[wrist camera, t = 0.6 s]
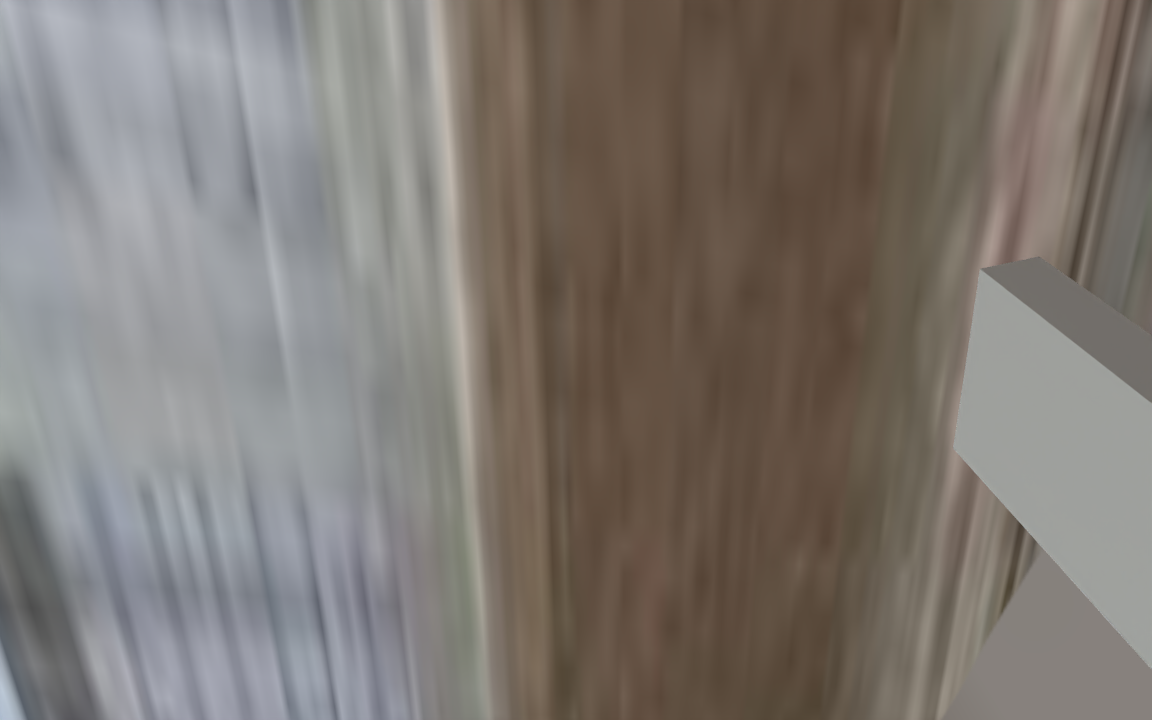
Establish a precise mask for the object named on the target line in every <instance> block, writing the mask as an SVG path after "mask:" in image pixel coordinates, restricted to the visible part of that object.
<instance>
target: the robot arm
mask: <svg viewBox="0 0 1152 720" xmlns="http://www.w3.org/2000/svg"><path fill="white" fill-rule="evenodd" d="M953 449H954V450H955V451H956V452H957V453H958V454H959V455H960V456H961V457H962V459H963V460H964V461H965V462H966V463H967V464H968V465H969V466H970V468H971V469H972V470H973V471H974V472H975V473H976V474H977V475H978V476H979V478H980V479H981V480H982V481H983V482H984V483H985V484H986V485H987V486H988V488H989V489H990V490H991V491H992V492H993V493H994V494H995V495H996V496H997V498H998V499H999V500H1000V501H1001V502H1002V503H1003V504H1004V505H1005V507H1006V508H1007V509H1008V510H1009V511H1010V512H1011V513H1012V514H1013V515H1014V517H1015V518H1016V519H1017V520H1018V521H1019V522H1020V523H1021V524H1022V525H1023V527H1024V528H1025V529H1026V530H1027V531H1028V532H1029V533H1030V534H1031V536H1032V537H1033V538H1034V539H1035V540H1036V541H1037V542H1038V543H1039V544H1040V546H1041V547H1042V548H1043V549H1044V550H1045V551H1046V552H1047V553H1048V554H1049V556H1050V557H1051V558H1052V559H1053V560H1054V561H1055V562H1056V563H1057V564H1058V565H1059V567H1060V568H1061V569H1062V570H1063V571H1064V572H1065V573H1066V575H1067V576H1068V577H1069V578H1070V579H1071V580H1072V581H1073V582H1074V583H1075V585H1076V586H1077V587H1078V588H1079V589H1080V590H1081V591H1082V592H1083V593H1084V595H1085V596H1086V597H1087V598H1088V599H1089V600H1090V601H1091V602H1092V603H1093V605H1094V606H1095V607H1096V608H1097V609H1098V610H1099V611H1100V612H1101V614H1103V616H1104V617H1105V618H1106V619H1107V620H1108V621H1109V622H1110V623H1111V625H1112V626H1113V627H1114V628H1115V629H1116V630H1117V631H1118V632H1119V634H1120V635H1121V636H1122V637H1123V638H1124V639H1125V640H1126V641H1127V642H1128V644H1129V645H1130V646H1131V647H1132V648H1133V649H1134V650H1135V651H1136V652H1137V654H1138V655H1139V656H1140V657H1141V658H1142V659H1143V660H1144V661H1145V663H1146V664H1147V665H1148V666H1149V667H1150V668H1151V669H1152V335H1150V334H1149V333H1148V332H1146V331H1145V330H1143V329H1142V328H1140V327H1139V326H1138V325H1136V324H1135V323H1133V322H1132V321H1130V320H1129V319H1128V318H1126V317H1125V316H1123V315H1122V314H1120V313H1119V312H1118V311H1116V310H1115V309H1113V308H1112V307H1110V306H1109V305H1108V304H1106V303H1105V302H1103V301H1102V300H1100V299H1099V298H1098V297H1096V296H1095V295H1093V294H1092V293H1090V292H1089V291H1088V290H1086V289H1085V288H1083V287H1082V286H1080V285H1079V284H1078V283H1076V282H1075V281H1073V280H1072V279H1070V278H1069V277H1068V276H1066V275H1065V274H1063V273H1062V272H1060V271H1059V270H1058V269H1056V268H1055V267H1053V266H1052V265H1050V264H1049V263H1047V262H1046V261H1045V260H1043V259H1042V258H1040V257H1035V258H1030V259H1026V260H1021V261H1016V262H1011V263H1006V264H1001V265H997V266H992V267H987V268H982V269H980V273H979V280H978V286H977V293H976V300H975V307H974V313H973V320H972V327H971V333H970V340H969V347H968V353H967V360H966V367H965V373H964V380H963V387H962V393H961V400H960V407H959V413H958V420H957V427H956V433H955V440H954V447H953Z"/></svg>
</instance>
